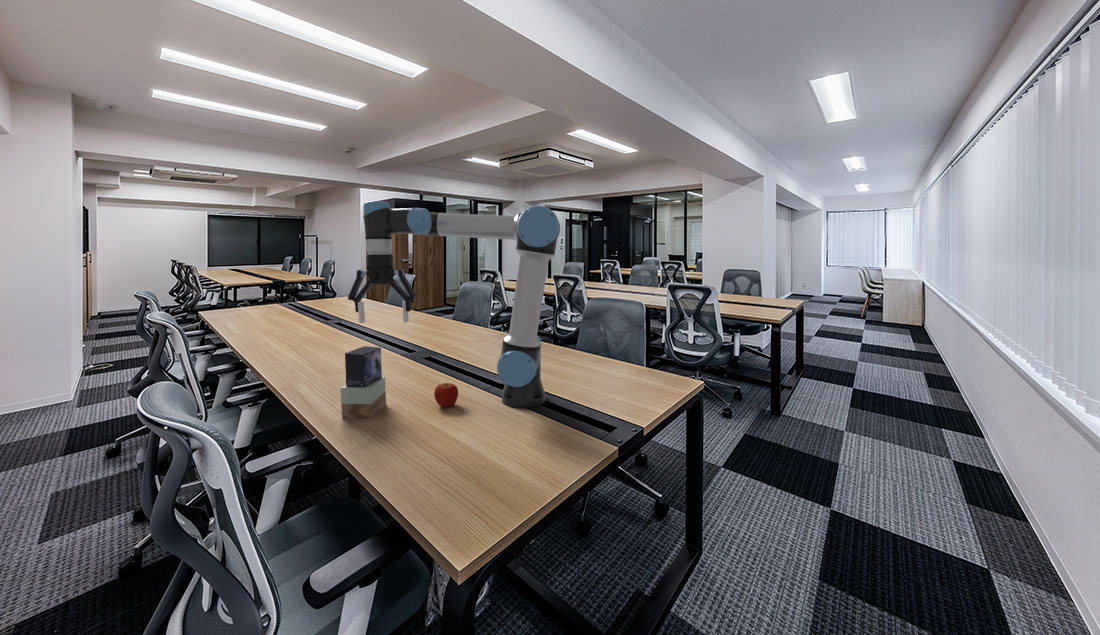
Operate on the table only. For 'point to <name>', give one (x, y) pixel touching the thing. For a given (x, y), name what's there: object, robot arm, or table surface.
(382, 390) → the tower top
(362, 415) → the tower base
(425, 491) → the table surface
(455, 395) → the apple
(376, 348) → the small box
